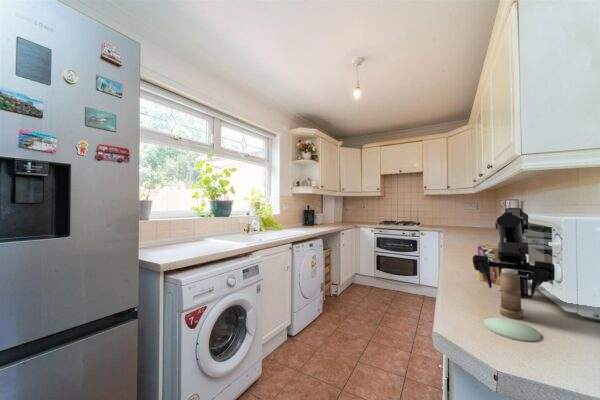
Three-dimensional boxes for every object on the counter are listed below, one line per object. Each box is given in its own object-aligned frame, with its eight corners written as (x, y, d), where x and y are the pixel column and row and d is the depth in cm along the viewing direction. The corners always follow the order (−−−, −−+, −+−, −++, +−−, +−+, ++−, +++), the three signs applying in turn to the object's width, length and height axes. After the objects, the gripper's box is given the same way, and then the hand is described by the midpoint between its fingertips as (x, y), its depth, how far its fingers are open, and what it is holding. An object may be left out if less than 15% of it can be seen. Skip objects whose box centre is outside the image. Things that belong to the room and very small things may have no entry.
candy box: (509, 284, 97) (507, 246, 97) (503, 285, 95) (501, 247, 95) (484, 278, 105) (482, 243, 105) (478, 280, 103) (476, 244, 103)
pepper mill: (512, 311, 73) (510, 267, 73) (528, 319, 68) (526, 272, 68) (495, 311, 73) (493, 267, 73) (510, 319, 68) (507, 272, 68)
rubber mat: (513, 319, 68) (513, 317, 68) (554, 341, 57) (554, 338, 57) (474, 319, 68) (474, 318, 68) (507, 341, 57) (507, 339, 57)
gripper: (472, 230, 81) (467, 269, 73) (552, 233, 68) (557, 282, 60) (477, 250, 86) (472, 289, 78) (552, 257, 73) (556, 304, 65)
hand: (510, 291), depth 70 cm, fingers open, 9 cm apart
